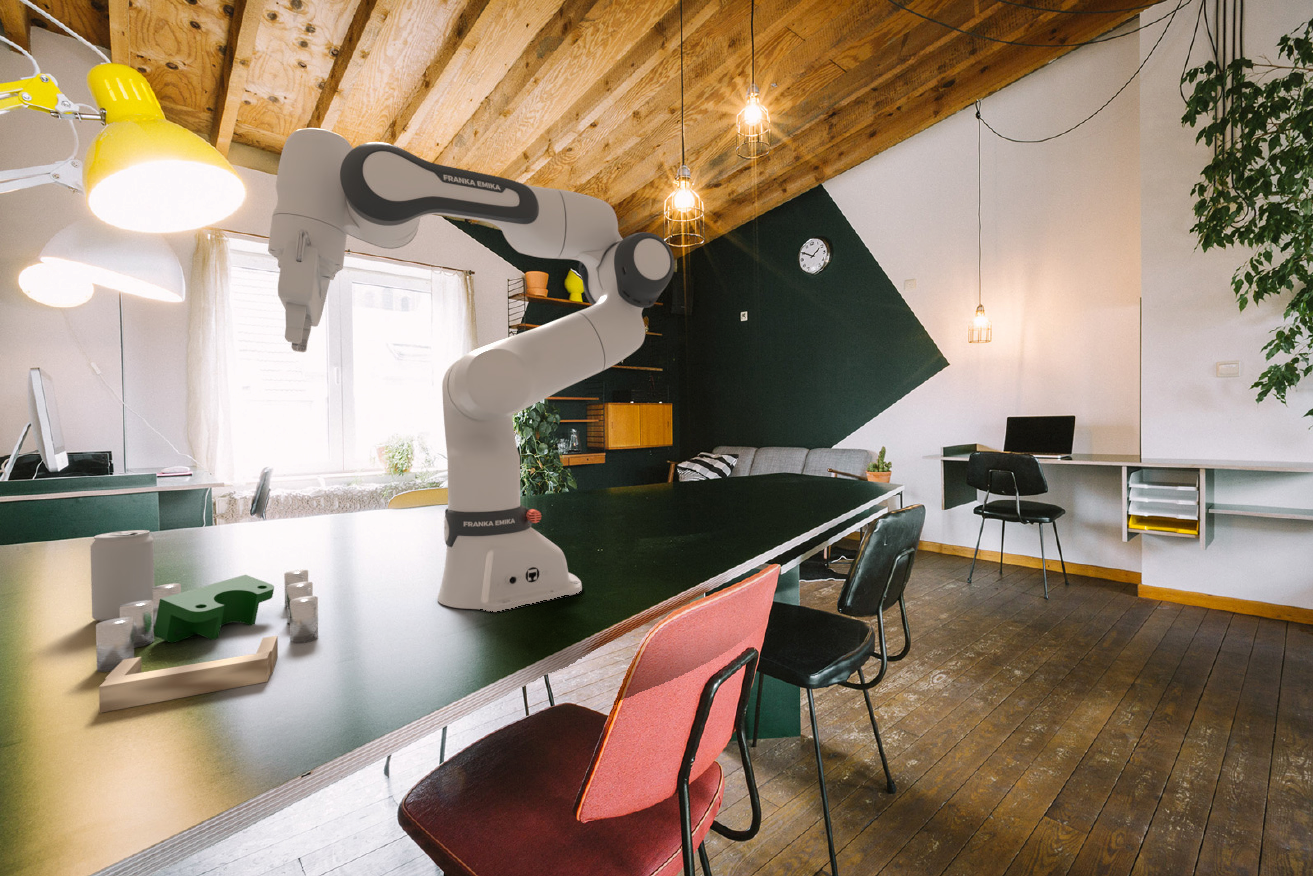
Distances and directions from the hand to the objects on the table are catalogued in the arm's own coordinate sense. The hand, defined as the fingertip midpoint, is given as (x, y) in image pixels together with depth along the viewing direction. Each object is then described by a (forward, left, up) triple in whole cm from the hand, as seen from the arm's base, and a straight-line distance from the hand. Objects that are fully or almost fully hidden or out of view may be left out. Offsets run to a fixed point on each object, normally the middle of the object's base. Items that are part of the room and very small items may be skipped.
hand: (296, 346), depth 75 cm
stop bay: (+8, +16, -38) cm, 42 cm away
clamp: (+9, -1, -38) cm, 40 cm away
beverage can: (+22, -14, -38) cm, 46 cm away
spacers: (+8, 0, -38) cm, 39 cm away
